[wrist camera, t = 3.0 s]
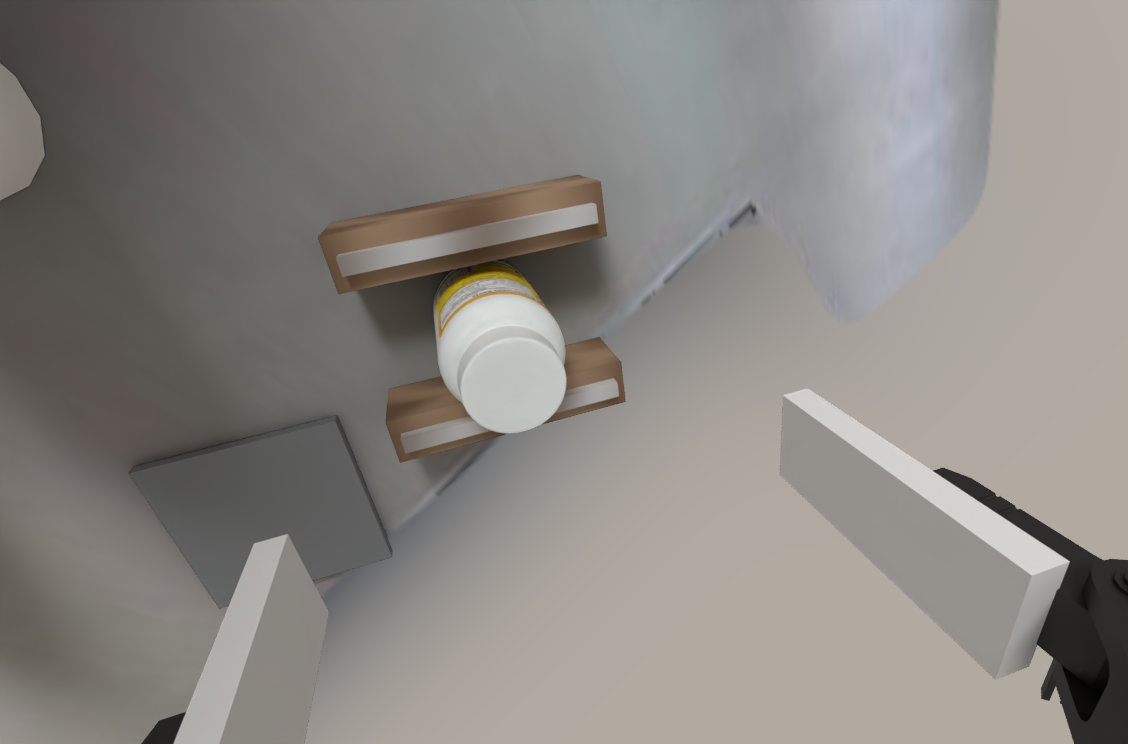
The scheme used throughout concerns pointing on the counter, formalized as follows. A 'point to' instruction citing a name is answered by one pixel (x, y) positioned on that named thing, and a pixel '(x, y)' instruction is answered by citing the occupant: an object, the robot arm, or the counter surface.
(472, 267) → the supplement bottle
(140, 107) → the counter surface
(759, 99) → the counter surface
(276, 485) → the mat
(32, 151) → the foam cup
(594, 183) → the wooden blocks
